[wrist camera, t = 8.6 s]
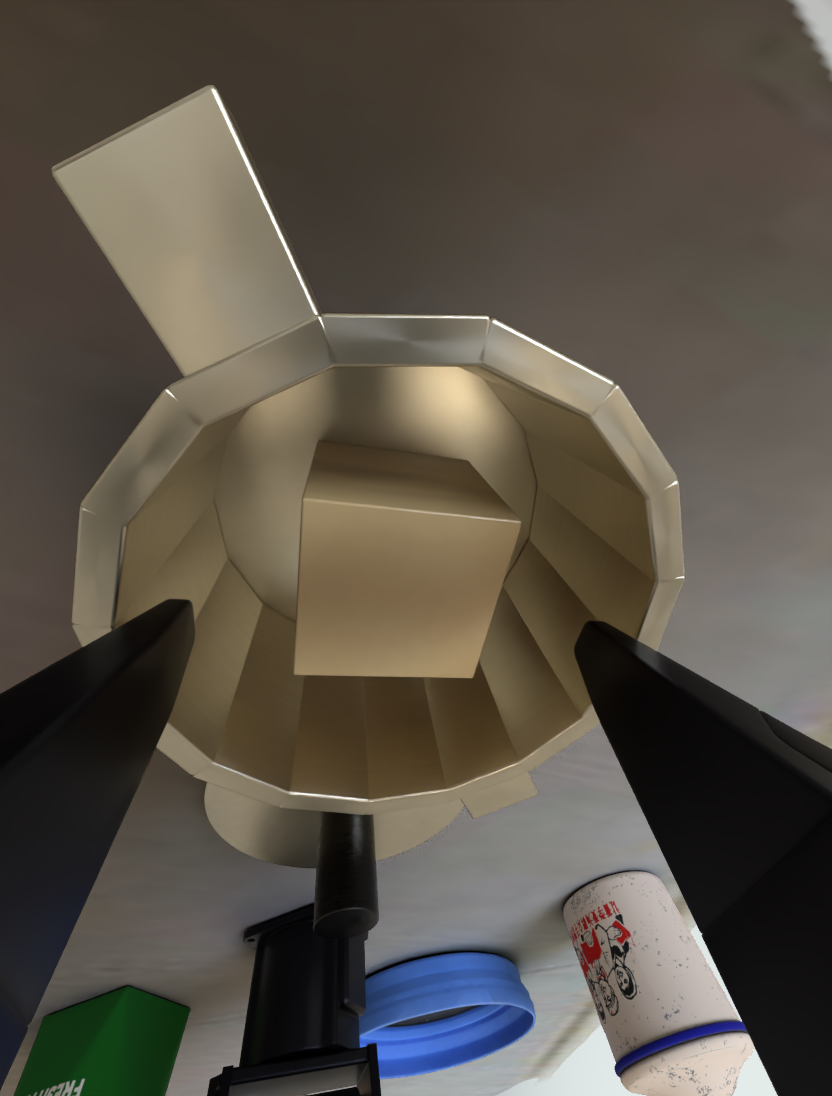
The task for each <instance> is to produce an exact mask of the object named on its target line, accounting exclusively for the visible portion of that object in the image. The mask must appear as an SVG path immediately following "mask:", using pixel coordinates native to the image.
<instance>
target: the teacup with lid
mask: <svg viewBox="0 0 832 1096" xmlns="http://www.w3.org/2000/svg"><path fill="white" fill-rule="evenodd" d="M563 917H564V921H565V923H566V926H567V929H568V932H569V934H570V937H571V940H572V943H573V945H574V948H575V951H576V954H577V956H578V959H579V962H580V965H581V967H582V970H583V973H584V976H585V978H586V981H587V984H588V987H589V990H590V992H591V995H592V998H593V1001H594V1003H595V1006H596V1010H597V1013H598V1016H599V1019H600V1022H601V1025H602V1027H603V1029H604V1032H605V1034H606V1036H607V1039H608V1042H609V1045H610V1047H611V1050H612V1053H613V1056H614V1058H615V1061H616V1065H615V1072H616V1074H617V1075H618V1076H619V1077H620V1078H621V1082H622V1084H623V1085H624V1086H625V1088H626V1089H627V1090H628V1091H630V1092H632V1093H637V1094H643V1095H647V1096H732V1094H733V1093H734V1091H735V1088H736V1084H737V1080H738V1075H739V1072H740V1069H741V1067H742V1066H743V1064H744V1062H745V1061H746V1060H747V1059H748V1057H749V1056H750V1055H751V1054H752V1052H753V1049H754V1045H753V1043H752V1040H751V1038H750V1036H749V1034H748V1032H747V1030H746V1028H745V1026H744V1024H743V1022H741V1021H740V1020H739V1018H738V1016H737V1014H736V1013H735V1011H734V1009H733V1007H732V1006H731V1004H730V1002H729V1000H728V998H727V997H726V995H725V993H724V991H723V990H722V988H721V986H720V984H719V983H718V981H717V979H716V977H715V975H714V974H713V972H712V970H711V968H710V967H709V965H708V963H707V961H706V959H705V958H704V956H703V954H702V952H701V950H700V949H699V947H698V945H697V943H696V942H695V940H694V938H693V936H692V935H691V933H690V931H689V929H688V927H687V926H686V924H685V922H684V920H683V918H682V917H681V915H680V913H679V911H678V910H677V908H676V906H675V904H674V902H673V901H672V899H671V897H670V895H669V894H668V892H667V890H666V888H665V886H664V885H663V883H662V881H661V880H660V879H659V878H658V877H657V876H655V875H653V874H651V873H648V872H642V871H631V872H623V873H618V874H614V875H610V876H607V877H604V878H601V879H599V880H596V881H594V882H592V883H590V884H588V885H586V886H585V887H583V888H581V889H580V890H579V891H577V892H576V893H575V894H574V895H572V896H571V897H570V898H569V900H568V901H567V902H566V904H565V906H564V909H563Z"/></svg>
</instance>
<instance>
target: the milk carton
mask: <svg viewBox="0 0 832 1096" xmlns="http://www.w3.org/2000/svg"><path fill="white" fill-rule="evenodd" d="M189 1013H190V1009H189V1008H186V1007H184V1006H181V1005H178V1004H175V1003H173V1002H170V1001H167V1000H164V999H162V998H159V997H156V996H154V995H151V994H148V993H145V992H143V991H140V990H137V989H134V988H132V987H129V986H127V987H124V988H122V989H119V990H116V991H113V992H111V993H108V994H105V995H103V996H100V997H97V998H95V999H92V1000H89V1001H87V1002H84V1003H81V1004H78V1005H76V1006H73V1007H70V1008H68V1009H65V1010H62V1011H60V1012H57V1013H54V1014H52V1015H49V1016H46V1017H44V1018H43V1021H42V1023H41V1026H40V1029H39V1031H38V1034H37V1036H36V1039H35V1041H34V1044H33V1047H32V1049H31V1052H30V1054H29V1057H28V1060H27V1062H26V1065H25V1067H24V1070H23V1072H22V1075H21V1078H20V1080H19V1083H18V1085H17V1088H16V1091H15V1093H14V1096H165V1094H166V1091H167V1087H168V1084H169V1081H170V1077H171V1074H172V1070H173V1067H174V1064H175V1060H176V1057H177V1053H178V1050H179V1047H180V1043H181V1040H182V1036H183V1033H184V1030H185V1026H186V1023H187V1019H188V1016H189Z"/></svg>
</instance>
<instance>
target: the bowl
mask: <svg viewBox="0 0 832 1096" xmlns="http://www.w3.org/2000/svg"><path fill="white" fill-rule="evenodd" d="M365 987H366V1010H365V1012H364V1015H361V1016H359V1030H360V1047H366V1046H367V1044H370V1043H377V1053H378V1065H379V1077H380V1079H391V1078H401V1077H408V1076H415V1075H421V1074H426V1073H431V1072H435V1071H439V1070H444V1069H448V1068H451V1067H455V1066H458V1065H462V1064H465V1063H468V1062H472V1061H474V1060H477V1059H480V1058H483V1057H485V1056H488V1055H490V1054H493V1053H495V1052H497V1051H499V1050H501V1049H503V1048H505V1047H507V1046H509V1045H511V1044H513V1043H515V1042H516V1041H518V1040H519V1039H521V1038H522V1037H524V1036H525V1035H526V1034H527V1033H528V1032H529V1031H530V1030H531V1029H532V1028H533V1027H534V1025H535V1022H536V1016H535V1011H534V1005H533V1002H532V1001H531V999H530V996H529V993H528V991H527V989H526V988H525V987H524V985H523V984H522V983H521V979H520V975H519V972H518V969H517V967H516V966H515V965H514V964H513V963H512V962H511V961H509V960H507V959H506V958H504V957H501V956H497V955H493V954H487V953H474V952H468V953H452V954H444V955H438V956H432V957H427V958H423V959H419V960H414V961H411V962H407V963H404V964H401V965H398V966H395V967H392V968H390V969H387V970H384V971H382V972H380V973H378V974H375V975H373V976H371V977H369V978H367V979H366V980H365Z"/></svg>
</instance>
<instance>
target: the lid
mask: <svg viewBox="0 0 832 1096" xmlns="http://www.w3.org/2000/svg"><path fill="white" fill-rule="evenodd" d="M204 803H205V810H206V814H207V817H208V819H209V821H210V823H211V825H212V827H213V828H214V830H215V831H216V832H217V833H218V834H219V835H220V837H221V838H223V839H224V840H225V841H226V842H227V843H229V844H230V845H231V846H233V847H235V848H236V849H238V850H239V851H241V852H243V853H245V854H247V855H250V856H252V857H254V858H257V859H260V860H263V861H266V862H270V863H274V864H278V865H284V866H291V867H300V868H317V870H316V887H315V905H314V922H313V929H314V932H315V933H316V934H317V935H319V936H321V937H324V938H329V939H344V938H350V937H354V936H358V935H361V934H363V933H365V932H367V931H369V930H371V929H372V928H373V927H374V926H375V925H376V924H377V922H378V920H379V912H378V892H377V873H376V861H378V860H381V859H385V858H388V857H391V856H394V855H397V854H400V853H402V852H404V851H407V850H409V849H411V848H413V847H415V846H417V845H419V844H421V843H423V842H425V841H426V840H428V839H430V838H431V837H433V836H434V835H436V834H437V833H439V832H440V831H441V830H443V829H444V828H445V827H446V826H447V825H448V824H450V823H451V822H452V821H453V820H454V819H455V818H456V817H457V815H458V814H459V813H460V812H461V811H462V809H463V808H464V804H463V803H462V801H461V800H460V799H458V800H455V801H452V802H451V801H450V803H446V804H439V805H432V806H426V807H419V808H412V809H405V810H398V811H392V812H385V813H378V814H371V815H366V814H365V815H359V814H347V813H335V812H324V811H312V810H300V809H288V808H280V807H275V806H272V805H269V804H266V803H264V802H261V801H258V800H255V799H252V798H250V797H247V796H244V795H241V794H239V793H236V792H233V791H230V790H228V789H225V788H222V787H219V786H217V785H214V784H211V783H208V782H207V784H206V788H205V794H204Z"/></svg>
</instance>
